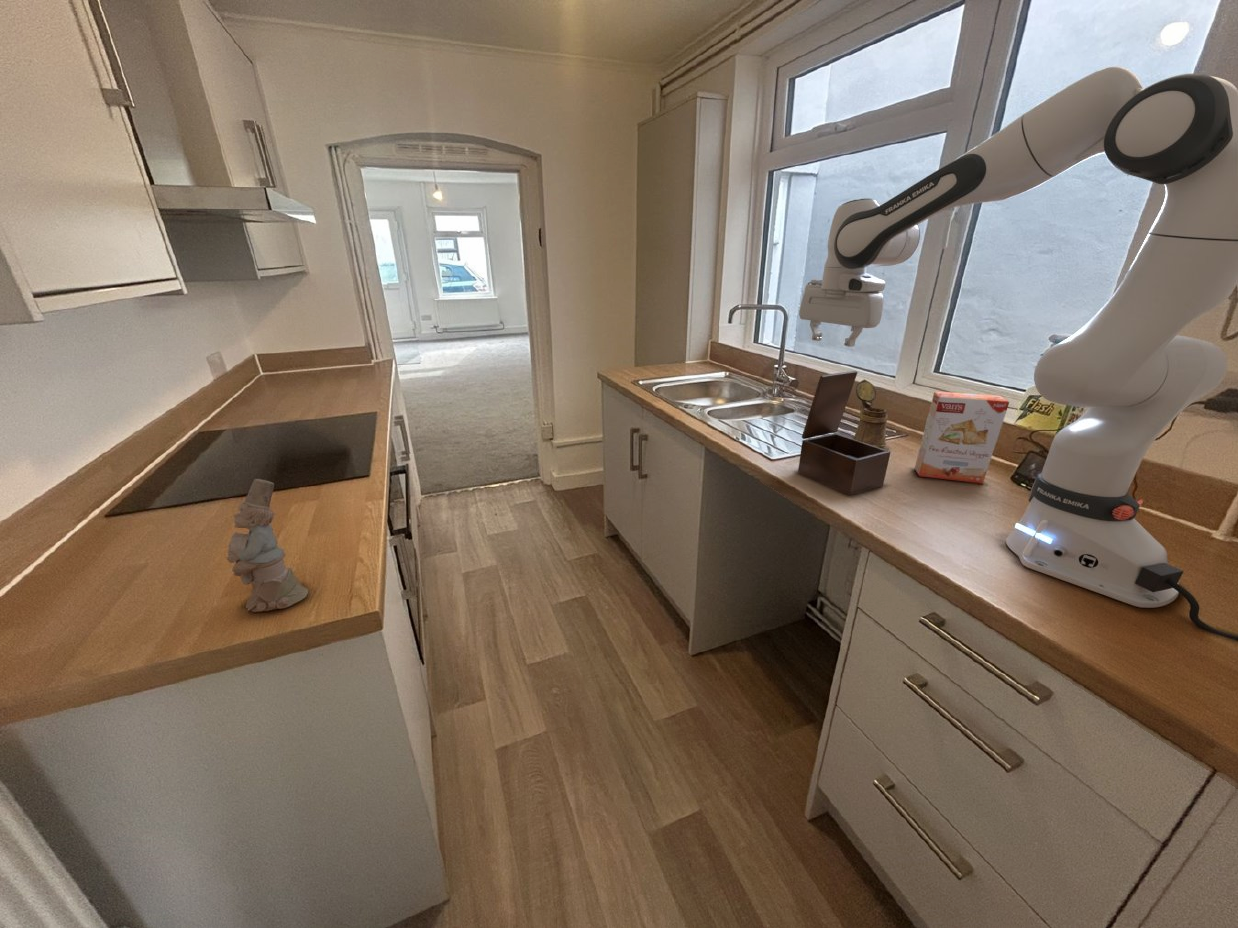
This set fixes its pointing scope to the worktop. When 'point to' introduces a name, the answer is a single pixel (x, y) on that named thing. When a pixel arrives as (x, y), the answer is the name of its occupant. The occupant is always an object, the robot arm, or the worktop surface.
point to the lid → (829, 403)
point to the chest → (843, 463)
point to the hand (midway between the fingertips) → (832, 343)
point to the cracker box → (960, 436)
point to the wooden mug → (870, 417)
